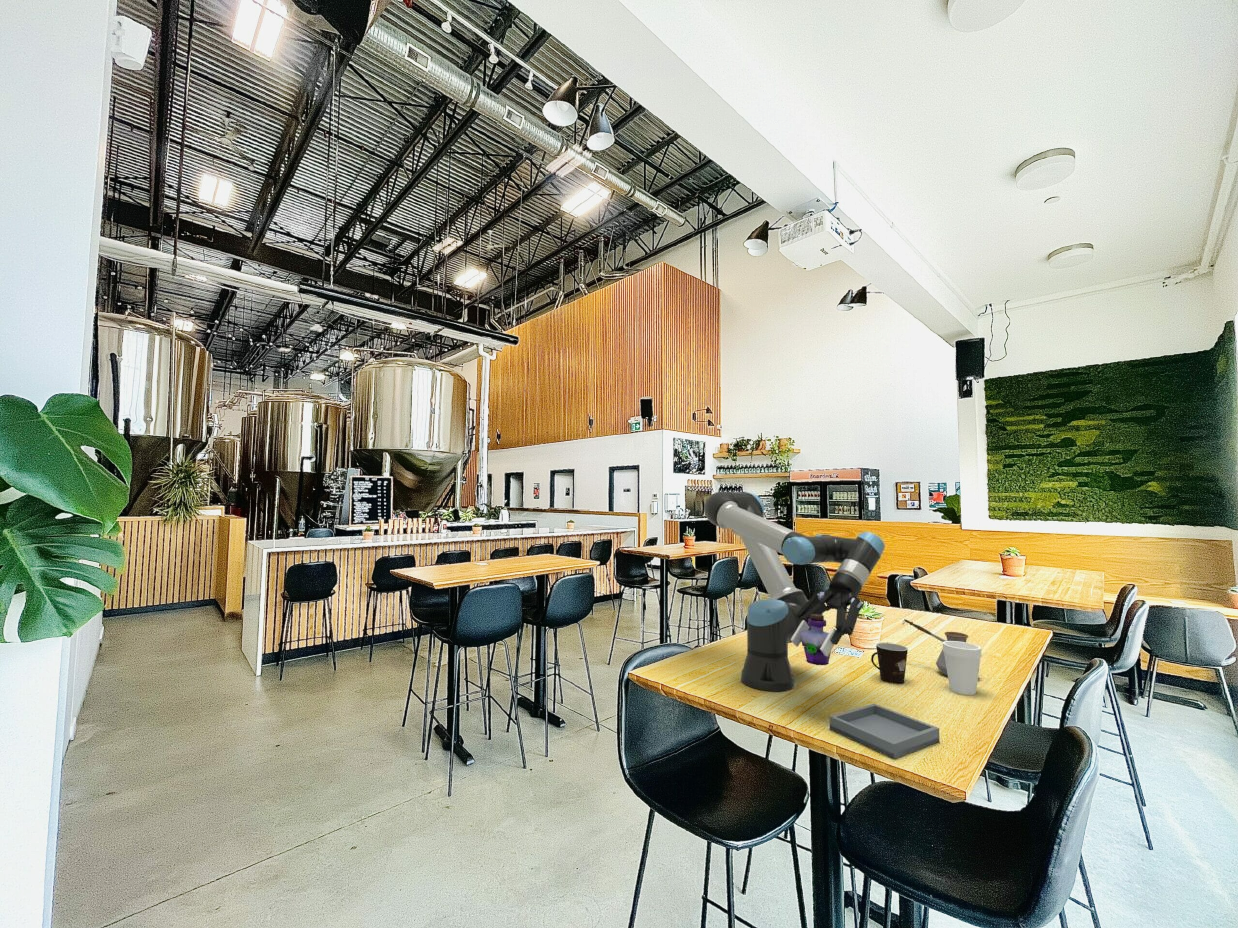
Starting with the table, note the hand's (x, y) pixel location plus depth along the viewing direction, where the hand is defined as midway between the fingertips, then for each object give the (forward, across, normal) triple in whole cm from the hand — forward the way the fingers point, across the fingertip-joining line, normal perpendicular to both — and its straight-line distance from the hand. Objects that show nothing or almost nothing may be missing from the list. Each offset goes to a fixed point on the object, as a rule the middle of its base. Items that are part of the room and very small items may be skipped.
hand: (808, 647), depth 132 cm
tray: (+7, -16, -16) cm, 24 cm away
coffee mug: (-19, +7, -42) cm, 47 cm away
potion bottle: (+1, 0, -5) cm, 5 cm away
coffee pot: (-35, +4, -59) cm, 68 cm away
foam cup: (-26, -9, -50) cm, 57 cm away
